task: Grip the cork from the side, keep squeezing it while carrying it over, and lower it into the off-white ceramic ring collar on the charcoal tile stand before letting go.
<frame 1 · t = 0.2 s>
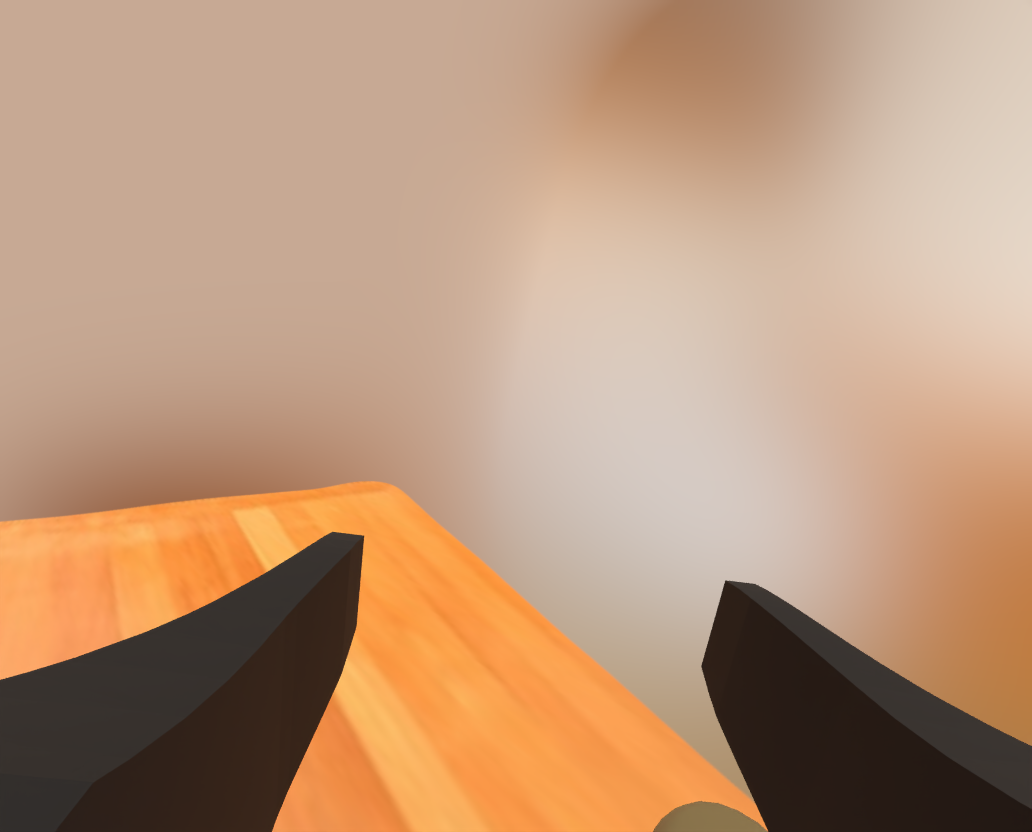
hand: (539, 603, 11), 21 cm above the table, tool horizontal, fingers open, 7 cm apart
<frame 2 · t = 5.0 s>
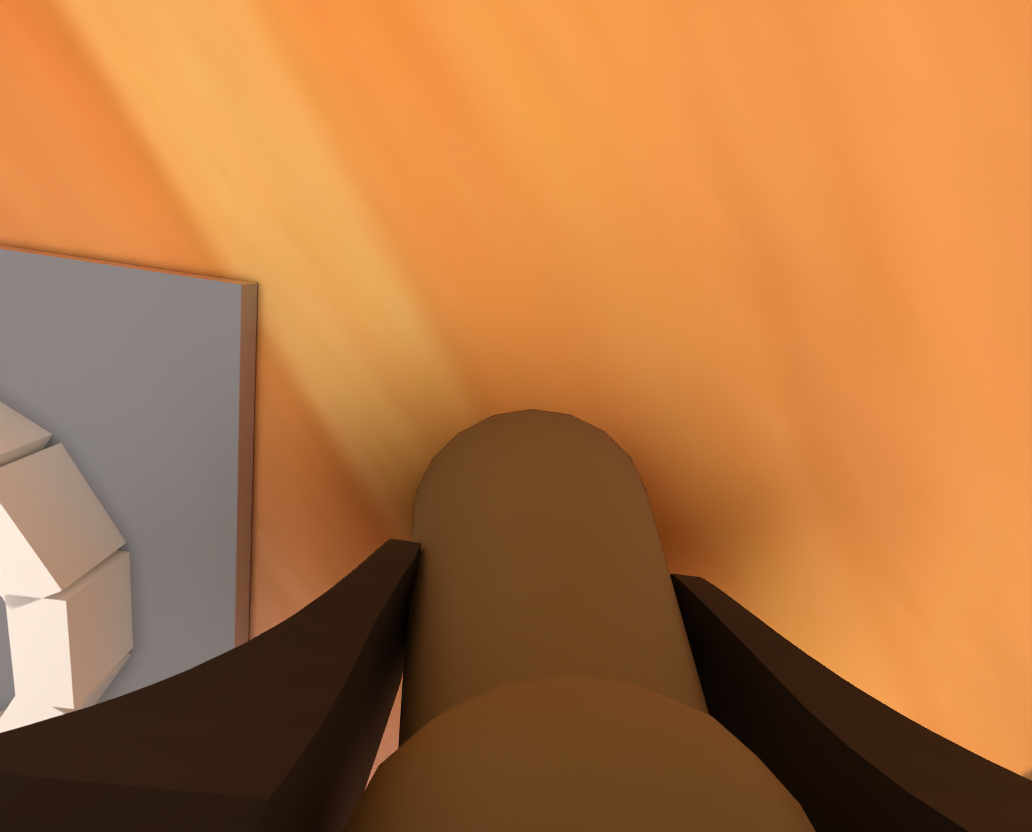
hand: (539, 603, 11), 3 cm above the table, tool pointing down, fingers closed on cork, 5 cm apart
cork: (531, 520, 14), on the table, touching gripper
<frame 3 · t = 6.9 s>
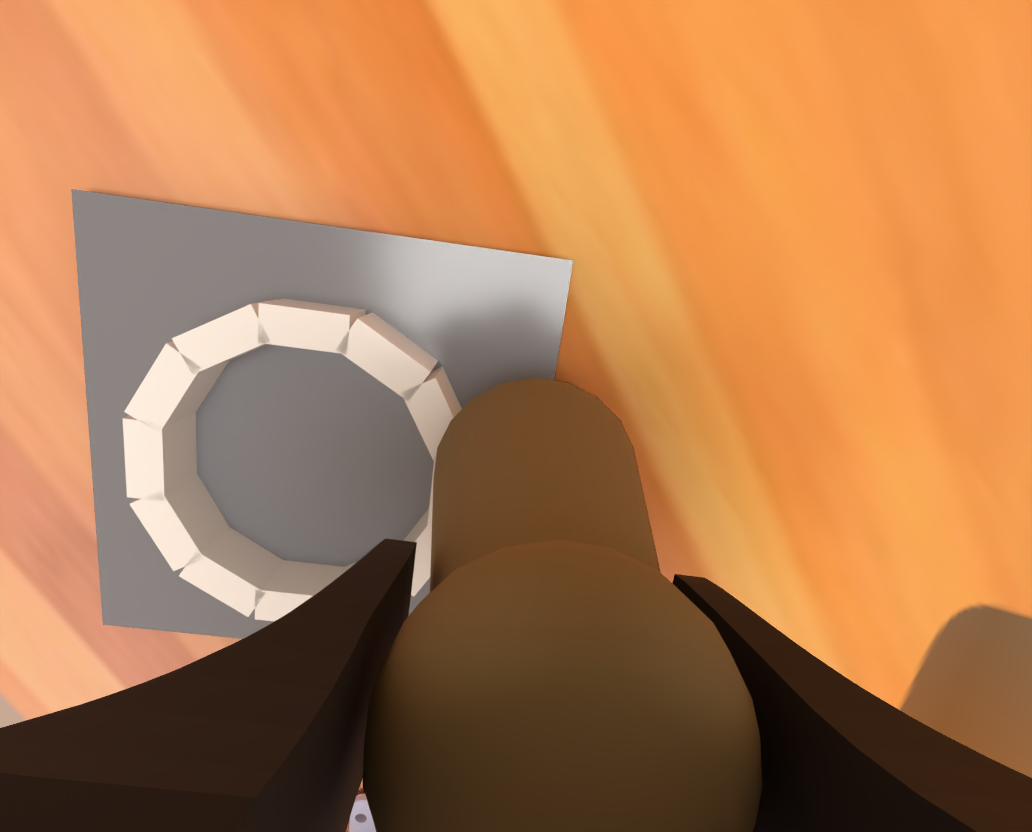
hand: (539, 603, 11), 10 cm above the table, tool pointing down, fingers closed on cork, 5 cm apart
cork: (534, 474, 17), point 4 cm above the table, touching gripper
ring stand: (325, 450, 21), on the table
when the fingers open (5 cm above the table, at t = 9.6 s): cork stays where it is, resting on ring stand.
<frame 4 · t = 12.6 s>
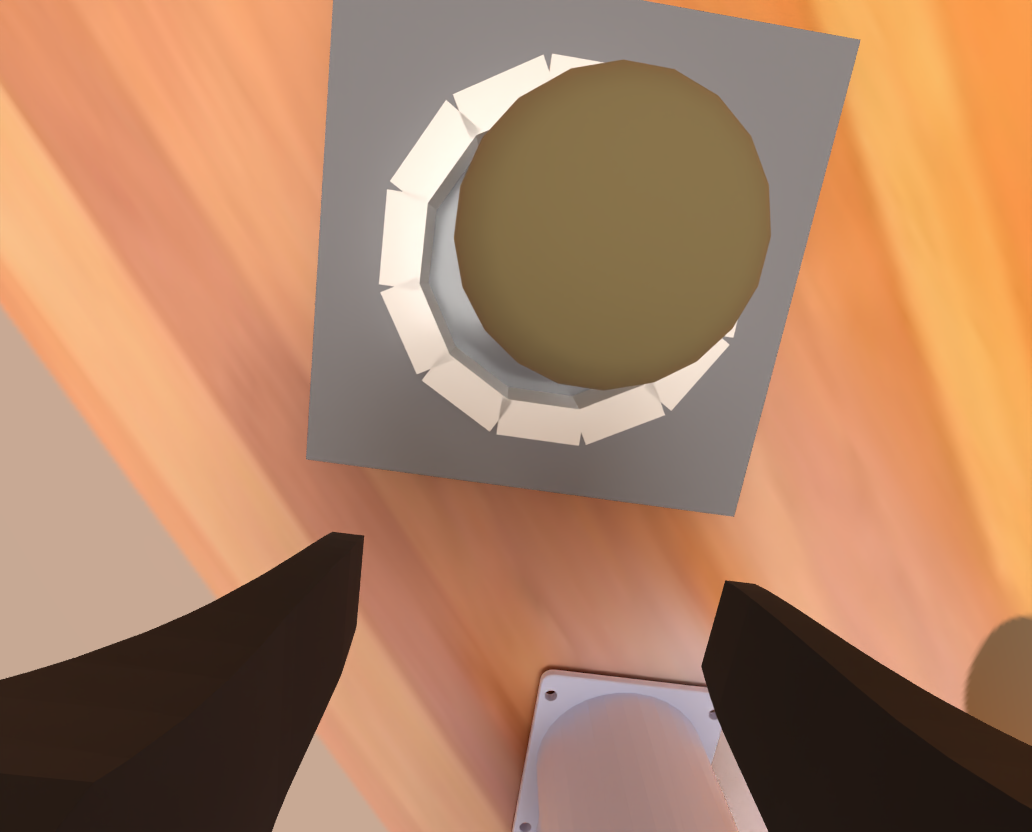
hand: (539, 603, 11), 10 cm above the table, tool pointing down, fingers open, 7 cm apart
cork: (558, 255, 19), point 1 cm above the table, touching ring stand
ring stand: (558, 267, 19), on the table
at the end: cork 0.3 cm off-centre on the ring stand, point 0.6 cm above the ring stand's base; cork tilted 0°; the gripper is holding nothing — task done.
